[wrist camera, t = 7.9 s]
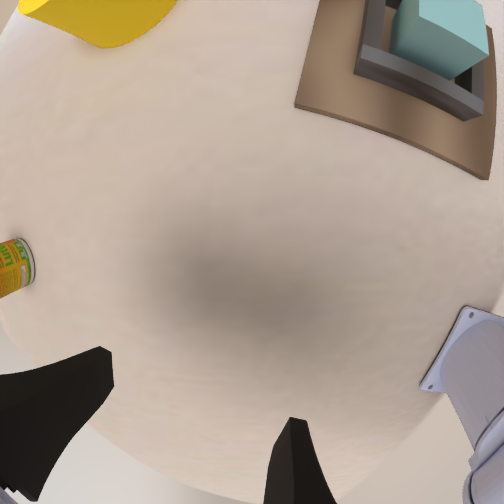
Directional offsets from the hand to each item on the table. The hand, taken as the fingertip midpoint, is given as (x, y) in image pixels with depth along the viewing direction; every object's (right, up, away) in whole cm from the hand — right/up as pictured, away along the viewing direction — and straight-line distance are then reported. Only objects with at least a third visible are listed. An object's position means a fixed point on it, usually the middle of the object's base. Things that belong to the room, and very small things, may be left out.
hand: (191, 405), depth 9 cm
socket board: (+13, +19, +4) cm, 24 cm away
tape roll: (-8, +27, +6) cm, 29 cm away
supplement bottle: (-23, +5, +14) cm, 28 cm away
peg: (+13, +19, +3) cm, 23 cm away
